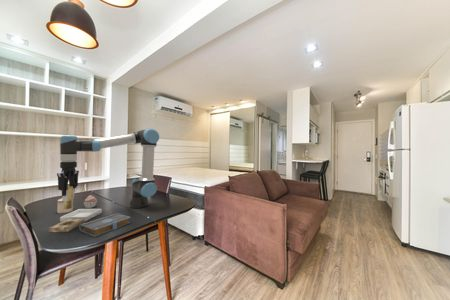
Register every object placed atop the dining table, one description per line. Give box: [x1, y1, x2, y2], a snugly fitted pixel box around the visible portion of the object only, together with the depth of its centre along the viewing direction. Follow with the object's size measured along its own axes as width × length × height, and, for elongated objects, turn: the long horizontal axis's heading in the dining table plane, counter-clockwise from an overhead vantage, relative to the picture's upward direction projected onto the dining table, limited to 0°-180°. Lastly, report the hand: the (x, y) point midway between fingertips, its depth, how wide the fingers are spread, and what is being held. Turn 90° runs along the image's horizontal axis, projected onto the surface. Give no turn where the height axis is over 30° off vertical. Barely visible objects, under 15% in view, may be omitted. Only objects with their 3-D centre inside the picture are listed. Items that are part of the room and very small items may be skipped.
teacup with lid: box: [56, 197, 74, 214], centre depth 131 cm, size 12×9×12 cm
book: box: [78, 212, 132, 238], centre depth 106 cm, size 21×16×5 cm
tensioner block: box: [48, 219, 84, 233], centre depth 103 cm, size 10×12×2 cm
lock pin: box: [64, 185, 74, 209], centre depth 104 cm, size 4×4×13 cm
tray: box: [59, 208, 103, 223], centre depth 120 cm, size 16×16×3 cm
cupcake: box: [83, 194, 98, 209], centre depth 140 cm, size 9×9×10 cm
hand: (68, 199), depth 104 cm, fingers closed on lock pin, 4 cm apart
